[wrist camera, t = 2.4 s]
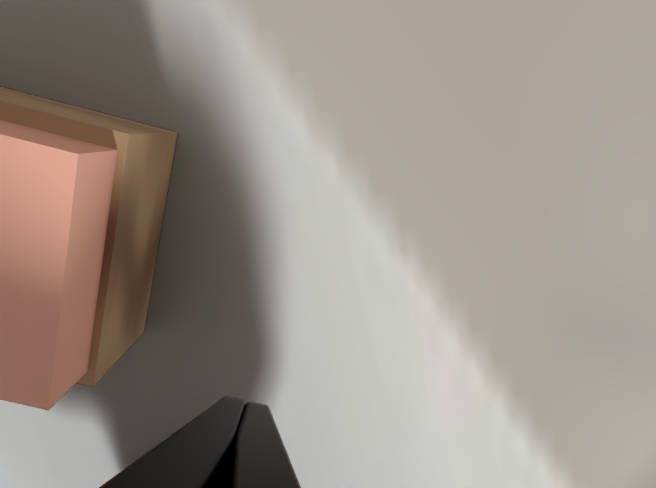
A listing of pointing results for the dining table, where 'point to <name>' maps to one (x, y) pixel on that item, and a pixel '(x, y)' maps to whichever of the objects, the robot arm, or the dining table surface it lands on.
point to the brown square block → (113, 213)
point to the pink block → (49, 259)
